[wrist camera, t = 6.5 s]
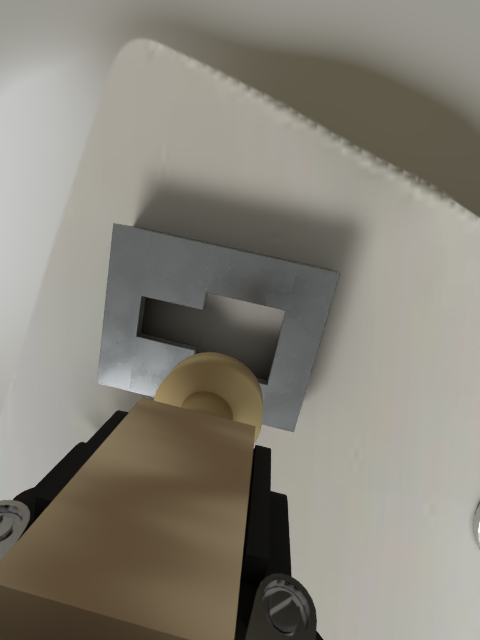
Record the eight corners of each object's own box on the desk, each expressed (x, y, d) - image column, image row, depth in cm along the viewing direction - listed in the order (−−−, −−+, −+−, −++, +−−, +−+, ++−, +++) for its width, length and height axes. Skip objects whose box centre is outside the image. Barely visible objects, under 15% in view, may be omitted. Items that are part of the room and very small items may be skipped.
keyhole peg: (273, 365, 15) (273, 639, 4) (250, 454, 16) (210, 824, 6) (171, 341, 15) (-47, 546, 5) (157, 430, 16) (-41, 744, 6)
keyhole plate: (331, 269, 27) (340, 273, 23) (291, 411, 30) (293, 432, 27) (133, 226, 28) (113, 223, 24) (116, 368, 31) (97, 383, 28)
